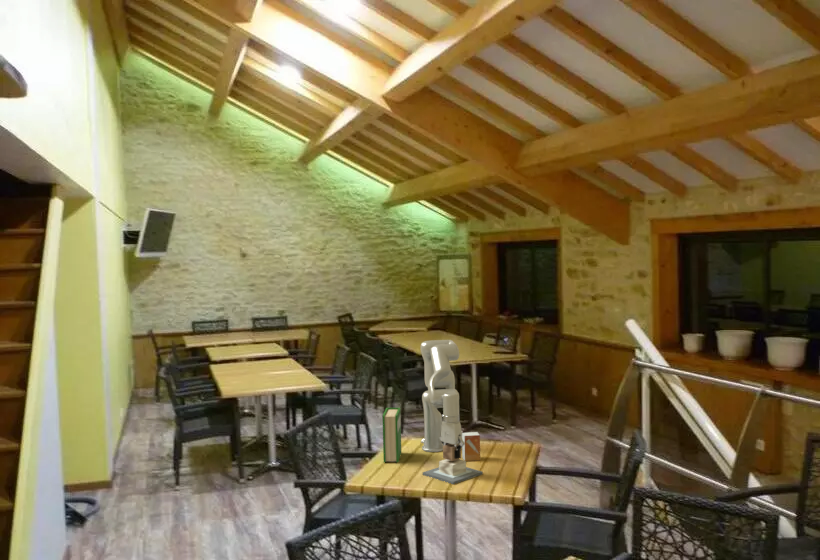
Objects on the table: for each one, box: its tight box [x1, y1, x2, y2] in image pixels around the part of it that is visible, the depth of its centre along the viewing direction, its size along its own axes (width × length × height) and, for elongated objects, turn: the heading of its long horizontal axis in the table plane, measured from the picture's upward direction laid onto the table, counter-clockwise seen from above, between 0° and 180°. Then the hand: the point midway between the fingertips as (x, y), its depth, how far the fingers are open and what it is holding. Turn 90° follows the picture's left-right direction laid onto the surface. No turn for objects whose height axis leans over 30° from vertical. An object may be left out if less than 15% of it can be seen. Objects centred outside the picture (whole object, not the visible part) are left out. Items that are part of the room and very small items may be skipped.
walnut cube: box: [442, 444, 462, 461], centre depth 328 cm, size 6×6×6 cm
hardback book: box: [382, 407, 402, 463], centre depth 358 cm, size 18×7×24 cm, turn 176°
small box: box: [461, 431, 481, 462], centre depth 352 cm, size 8×6×13 cm
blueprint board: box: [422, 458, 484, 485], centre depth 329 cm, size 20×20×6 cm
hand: (452, 456), depth 329 cm, fingers closed on walnut cube, 5 cm apart
